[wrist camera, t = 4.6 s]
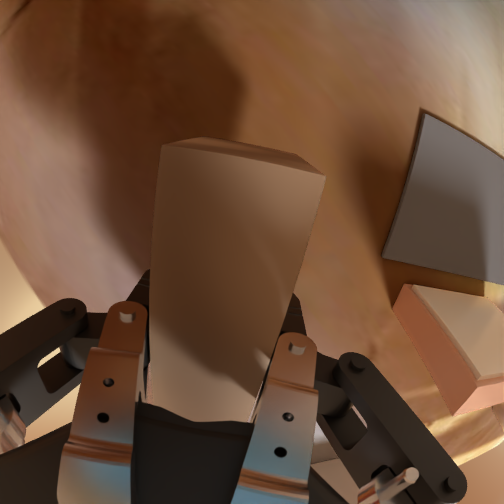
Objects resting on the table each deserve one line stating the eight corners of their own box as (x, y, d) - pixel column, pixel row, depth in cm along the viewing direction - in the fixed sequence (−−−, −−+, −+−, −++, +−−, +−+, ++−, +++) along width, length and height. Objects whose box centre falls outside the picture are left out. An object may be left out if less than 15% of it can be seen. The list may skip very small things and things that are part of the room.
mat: (541, 190, 13) (543, 191, 13) (507, 284, 17) (509, 286, 17) (422, 113, 12) (425, 113, 12) (381, 255, 16) (383, 257, 15)
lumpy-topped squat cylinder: (366, 473, 31) (376, 520, 23) (280, 491, 32) (283, 538, 24) (368, 449, 26) (382, 508, 19) (262, 471, 28) (264, 530, 20)
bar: (296, 154, 10) (326, 176, 6) (238, 378, 15) (233, 455, 11) (203, 136, 10) (161, 144, 6) (177, 367, 15) (156, 441, 10)
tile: (485, 293, 17) (549, 366, 9) (472, 317, 18) (529, 392, 10) (405, 279, 16) (481, 382, 8) (391, 309, 17) (452, 416, 9)
